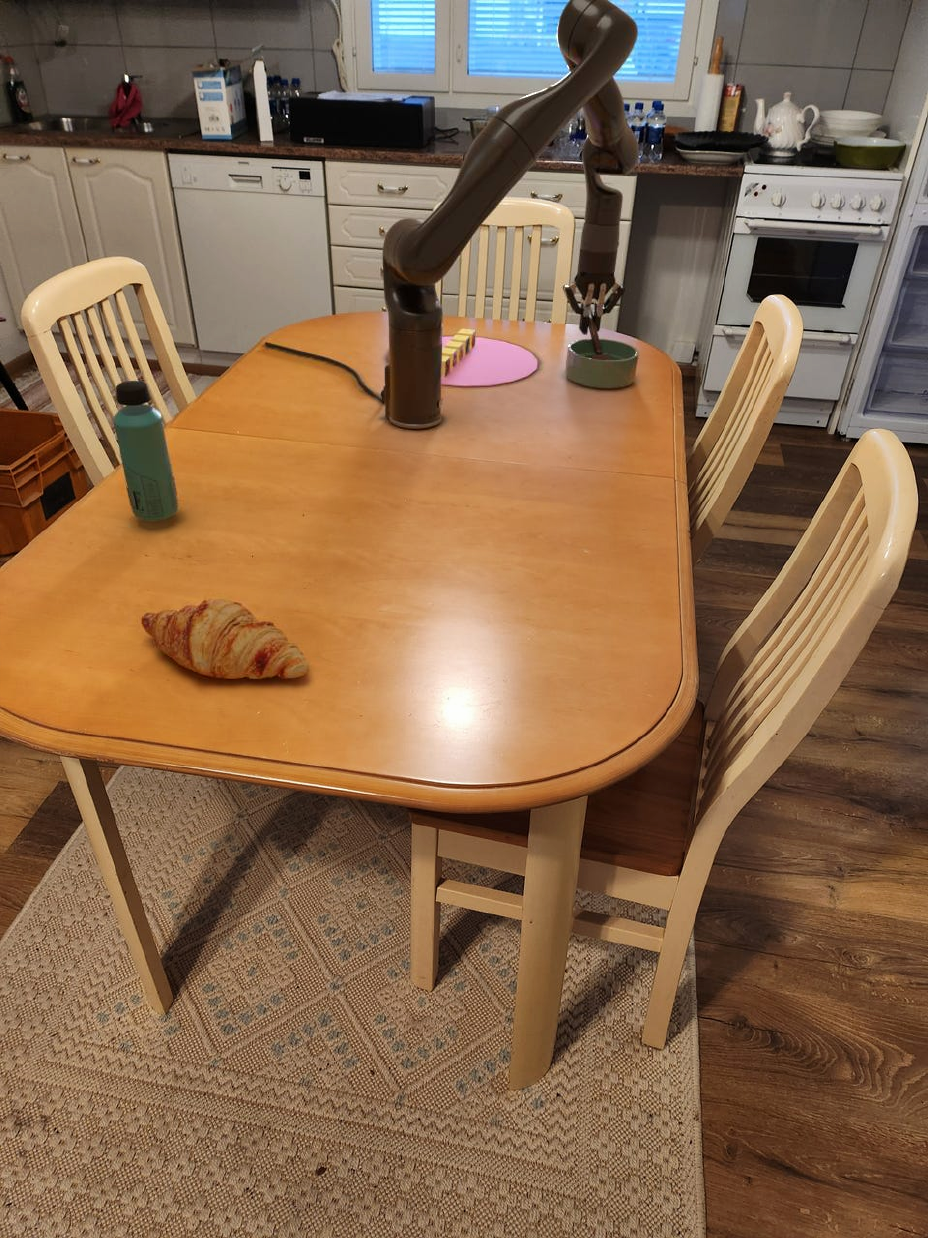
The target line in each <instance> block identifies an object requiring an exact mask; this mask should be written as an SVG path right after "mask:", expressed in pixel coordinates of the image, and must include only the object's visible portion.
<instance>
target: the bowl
mask: <svg viewBox="0 0 928 1238" xmlns="http://www.w3.org/2000/svg"><path fill="white" fill-rule="evenodd" d="M599 340H600V344H601V348H602V351H603V353H602V354H610V358H611V360H598V359H592V358H590V357H591V355H596V354H595V350H594V346H593V343H592V339H591V338H583V339H578V340H574V341H573V342H571V343H569V344H568V346H567V351H566V352H567V353H566V360H565V361H566V362H565V372H564V373H565V376H566V378H568V379H569V380H570V381H572V382H575V383H577V384H579V385H581V386H585V387H588V388H589V387H590V388H593V389H616V388H622V387H626V386H629V385H631V384H633V383H634V382H635V380H636V376H637V375H636V374H637V370H638V362H639V356H640V352H639V350H638V348H636V347H635V346H633V345H632V344H629V343H626V342H623V341H619V340H614V339H607V338H599Z"/></svg>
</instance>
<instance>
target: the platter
mask: <svg viewBox="0 0 928 1238" xmlns="http://www.w3.org/2000/svg"><path fill="white" fill-rule="evenodd" d="M387 358H388V359H389V356H388V357H387ZM538 363H539V361H538V359H537V358H536V356H535V355H534V354H533V353H532V352H530V351H528V350H527V349H526V348H523V347H521V346H520V345H519V346H518V345H515V344H513V343H510V342H507V341H503V340H497V339H493V338H492V339H491V338H487V337H479V336H477V330H476V329H470V328H461V329H460V330H459V331H458V332H457V334H454V336H453V335H451V336H450V335H449V336H442V379H441V386H454V387H487V386H488V387H491V386H498V385H504V384H510V383H514V382H517V381H520V380H523V379H525V378H527V377H529V376H531V375H532V374H533V373H534V372H535V371H537V369H538Z"/></svg>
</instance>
